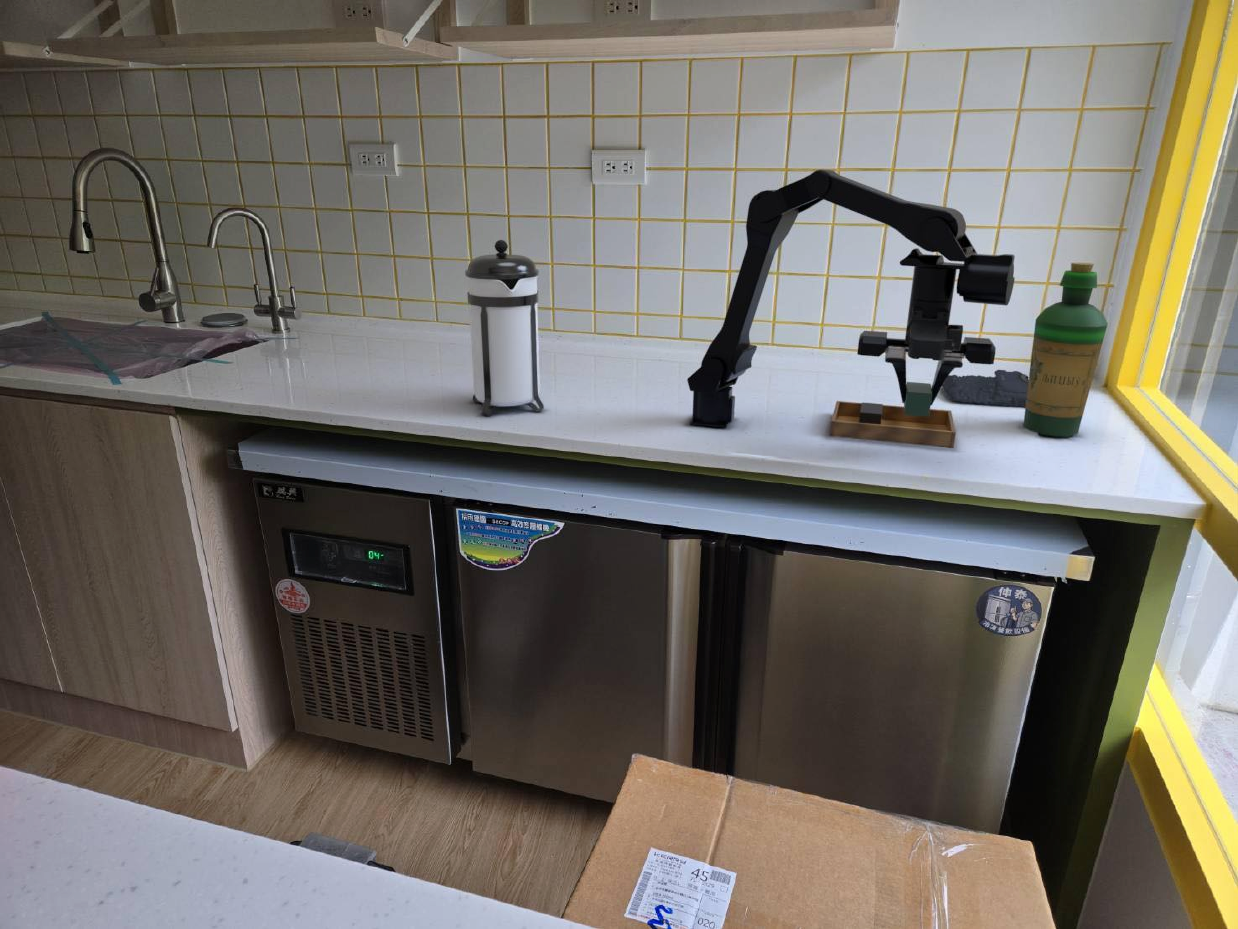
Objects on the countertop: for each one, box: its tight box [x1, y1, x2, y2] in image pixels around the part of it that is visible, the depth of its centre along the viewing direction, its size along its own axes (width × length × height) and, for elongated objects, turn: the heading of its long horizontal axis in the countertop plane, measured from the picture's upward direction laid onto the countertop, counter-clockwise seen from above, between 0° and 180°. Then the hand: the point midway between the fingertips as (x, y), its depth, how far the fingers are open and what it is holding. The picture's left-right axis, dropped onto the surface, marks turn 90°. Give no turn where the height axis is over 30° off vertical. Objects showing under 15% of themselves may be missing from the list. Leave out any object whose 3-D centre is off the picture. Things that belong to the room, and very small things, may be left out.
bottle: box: [1022, 262, 1109, 438], centre depth 135 cm, size 11×11×28 cm
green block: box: [903, 381, 932, 417], centre depth 123 cm, size 4×6×4 cm, turn 162°
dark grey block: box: [859, 402, 884, 425], centre depth 139 cm, size 4×6×4 cm, turn 162°
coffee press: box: [464, 239, 545, 417], centre depth 148 cm, size 17×16×30 cm
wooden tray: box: [829, 400, 957, 449], centre depth 138 cm, size 19×13×3 cm
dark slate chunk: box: [941, 369, 1029, 408], centre depth 161 cm, size 15×22×5 cm
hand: (916, 403), depth 123 cm, fingers closed on green block, 3 cm apart
